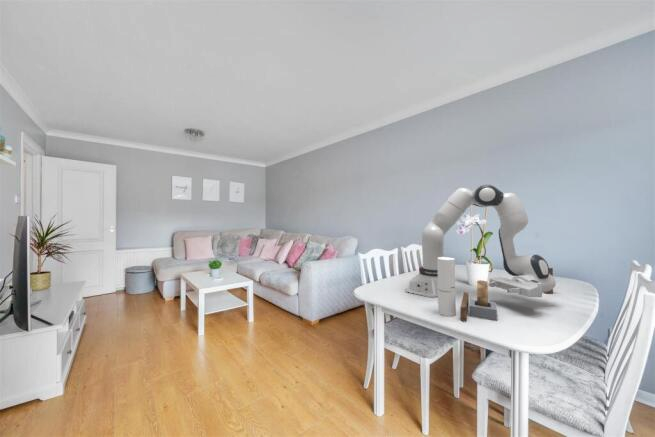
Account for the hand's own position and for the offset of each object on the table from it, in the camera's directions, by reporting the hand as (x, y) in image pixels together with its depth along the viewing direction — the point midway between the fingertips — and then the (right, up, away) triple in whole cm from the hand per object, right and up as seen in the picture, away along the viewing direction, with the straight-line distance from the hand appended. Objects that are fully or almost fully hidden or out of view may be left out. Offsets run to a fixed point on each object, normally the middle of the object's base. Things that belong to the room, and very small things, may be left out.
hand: (498, 287), depth 114 cm
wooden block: (+43, -9, +26) cm, 51 cm away
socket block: (-10, -11, -4) cm, 15 cm away
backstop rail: (-16, -11, -1) cm, 19 cm away
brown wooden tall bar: (-10, -10, -3) cm, 14 cm away
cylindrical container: (-25, -11, -1) cm, 27 cm away
